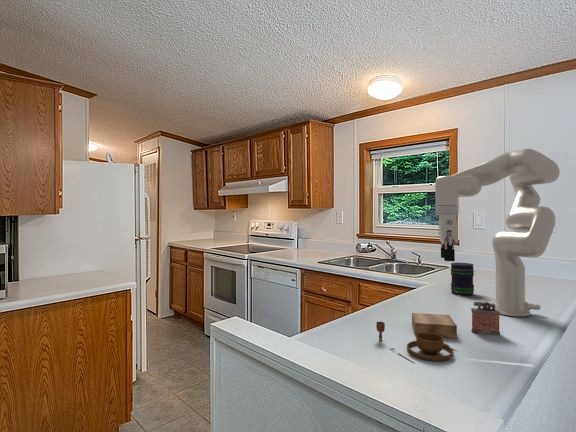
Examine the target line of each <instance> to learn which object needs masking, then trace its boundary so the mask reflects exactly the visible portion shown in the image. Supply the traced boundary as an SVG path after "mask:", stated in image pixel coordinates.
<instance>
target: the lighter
mask: <svg viewBox="0 0 576 432" xmlns="http://www.w3.org/2000/svg"><path fill="white" fill-rule="evenodd" d="M473 306H474V307H472V308H471V309H470V311H471V333H473V334H475V335H476V334H477V335H487V336H500V335H501V331H500V315H501V314H500V311H499V310H495V306H496V302H495V303H493V302H492V303H491V302H488V301H483V302H482V301H474V302H473Z"/></svg>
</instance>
